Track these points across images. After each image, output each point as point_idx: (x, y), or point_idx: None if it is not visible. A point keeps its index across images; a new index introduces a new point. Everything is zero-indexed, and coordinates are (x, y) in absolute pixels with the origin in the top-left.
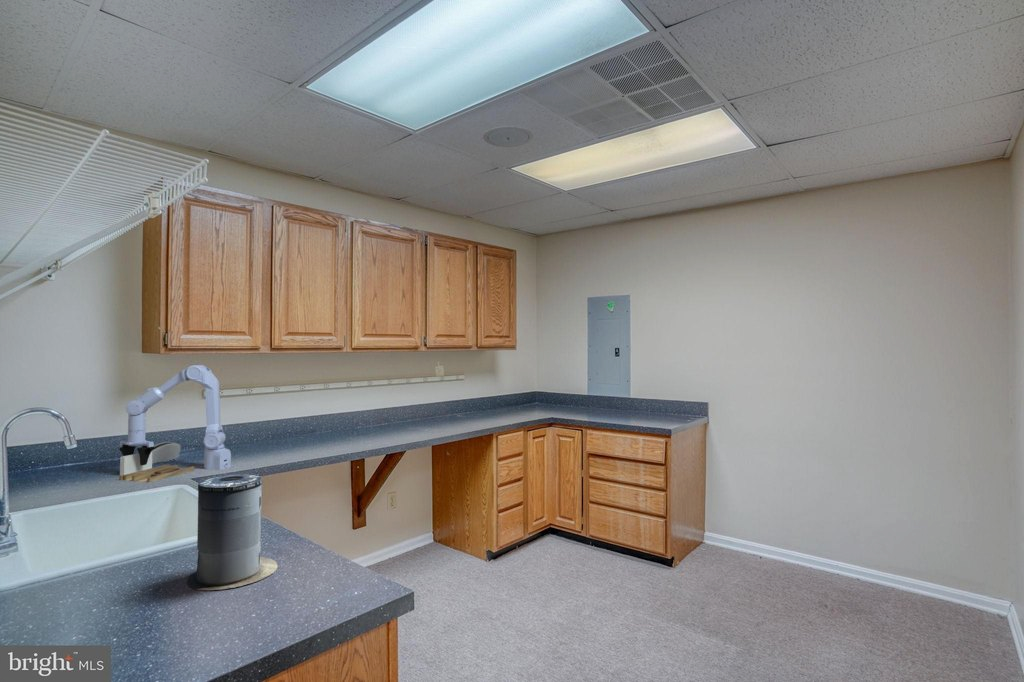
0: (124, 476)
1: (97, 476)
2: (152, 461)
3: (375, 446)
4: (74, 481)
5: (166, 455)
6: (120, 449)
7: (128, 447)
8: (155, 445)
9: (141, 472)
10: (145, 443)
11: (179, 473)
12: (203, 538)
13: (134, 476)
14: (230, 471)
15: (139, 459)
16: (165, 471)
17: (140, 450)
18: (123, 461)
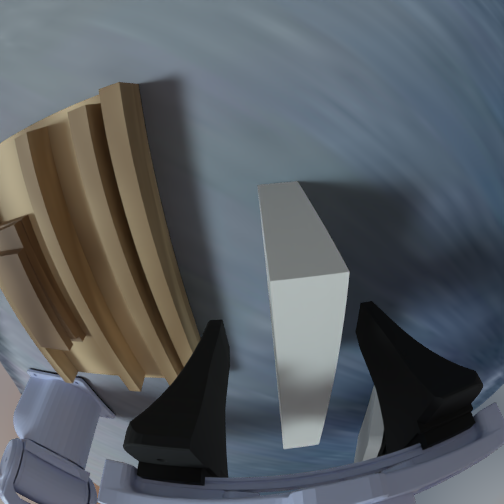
0: (85, 105)
1: (456, 164)
2: (372, 401)
3: (96, 478)
4: (457, 36)
5: (362, 437)
6: (462, 375)
7: (411, 429)
8: None
9: (102, 236)
10: (134, 501)
11: None
12: None
13: (18, 139)
14: (23, 377)
15: (276, 366)
16: (2, 280)
17: (150, 424)
18: (281, 246)
